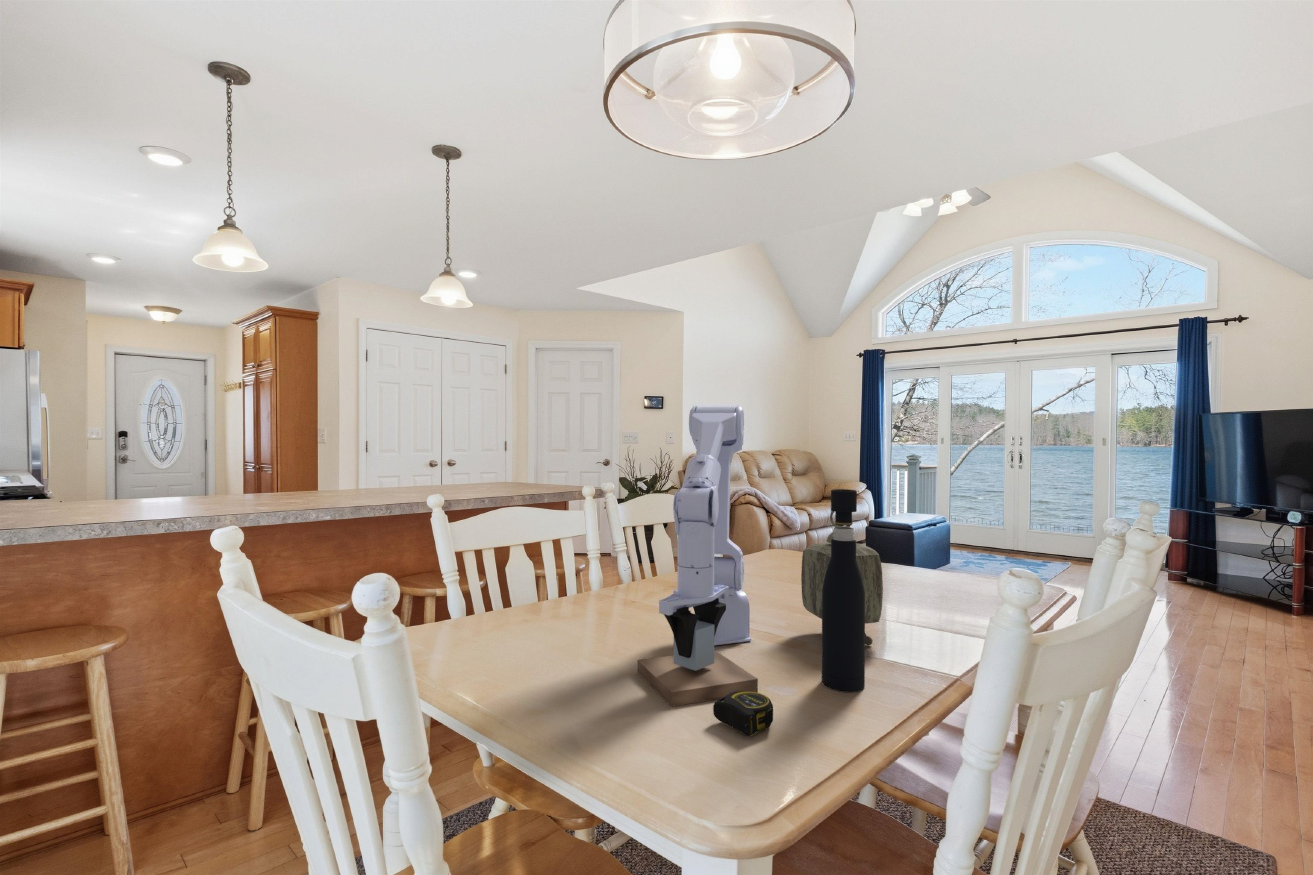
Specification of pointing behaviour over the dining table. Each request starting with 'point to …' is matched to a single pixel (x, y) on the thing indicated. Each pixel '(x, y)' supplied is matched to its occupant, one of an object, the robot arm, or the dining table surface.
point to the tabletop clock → (815, 569)
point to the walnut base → (695, 679)
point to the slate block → (698, 648)
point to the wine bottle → (843, 603)
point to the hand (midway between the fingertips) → (695, 652)
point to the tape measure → (745, 711)
